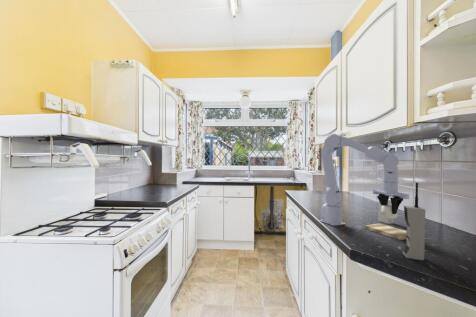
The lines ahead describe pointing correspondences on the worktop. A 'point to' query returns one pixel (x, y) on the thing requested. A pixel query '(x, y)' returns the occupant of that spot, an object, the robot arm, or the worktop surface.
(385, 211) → the capped bottle
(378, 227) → the birch board
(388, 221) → the skincare box
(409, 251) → the vintage mobile phone
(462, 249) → the worktop surface
